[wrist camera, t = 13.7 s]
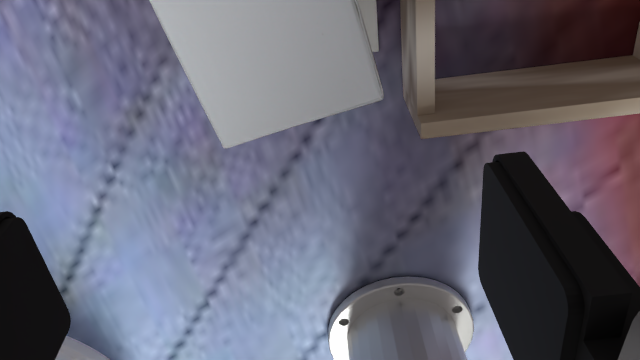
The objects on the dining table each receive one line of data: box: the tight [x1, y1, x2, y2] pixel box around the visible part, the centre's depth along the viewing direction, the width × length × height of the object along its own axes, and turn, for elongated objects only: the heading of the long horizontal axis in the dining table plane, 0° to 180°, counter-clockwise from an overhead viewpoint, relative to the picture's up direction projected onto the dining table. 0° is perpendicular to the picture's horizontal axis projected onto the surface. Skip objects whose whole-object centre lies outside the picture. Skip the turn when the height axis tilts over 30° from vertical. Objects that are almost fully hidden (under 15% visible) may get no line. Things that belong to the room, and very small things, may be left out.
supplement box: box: [150, 0, 384, 149], centre depth 26 cm, size 7×7×13 cm
